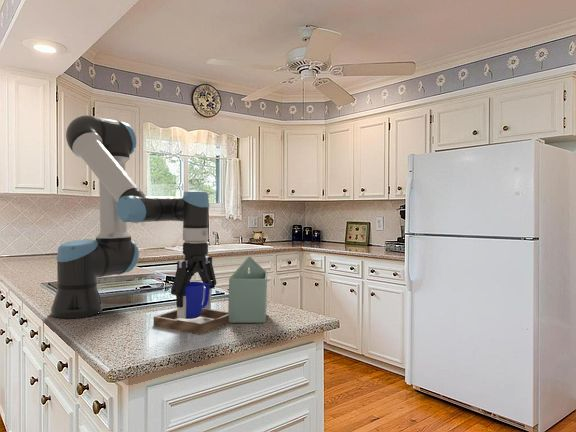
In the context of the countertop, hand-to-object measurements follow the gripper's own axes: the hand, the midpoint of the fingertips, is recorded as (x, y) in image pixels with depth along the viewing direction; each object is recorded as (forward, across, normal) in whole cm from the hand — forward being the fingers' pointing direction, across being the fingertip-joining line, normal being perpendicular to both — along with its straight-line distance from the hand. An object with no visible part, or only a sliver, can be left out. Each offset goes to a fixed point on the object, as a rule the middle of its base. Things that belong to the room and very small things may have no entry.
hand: (194, 313), depth 134 cm
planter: (+3, +12, -14) cm, 19 cm away
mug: (+1, 0, 0) cm, 1 cm away
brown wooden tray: (+3, 0, 0) cm, 3 cm away
